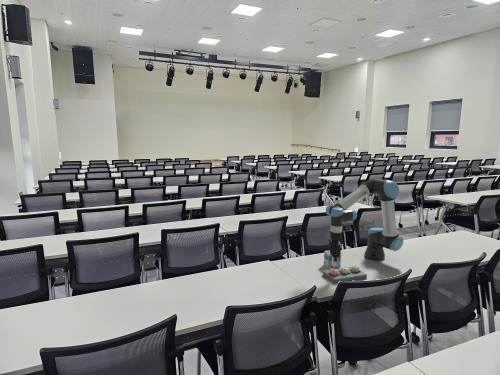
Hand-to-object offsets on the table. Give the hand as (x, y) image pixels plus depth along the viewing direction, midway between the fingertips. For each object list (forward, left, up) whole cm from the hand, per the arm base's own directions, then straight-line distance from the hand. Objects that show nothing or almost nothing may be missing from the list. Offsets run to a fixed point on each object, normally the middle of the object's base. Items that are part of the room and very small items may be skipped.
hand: (334, 265), depth 216 cm
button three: (0, 0, -6) cm, 6 cm away
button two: (-9, 0, -6) cm, 11 cm away
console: (-9, 0, -9) cm, 13 cm away
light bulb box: (-11, -19, -9) cm, 24 cm away
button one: (-17, 0, -6) cm, 18 cm away
